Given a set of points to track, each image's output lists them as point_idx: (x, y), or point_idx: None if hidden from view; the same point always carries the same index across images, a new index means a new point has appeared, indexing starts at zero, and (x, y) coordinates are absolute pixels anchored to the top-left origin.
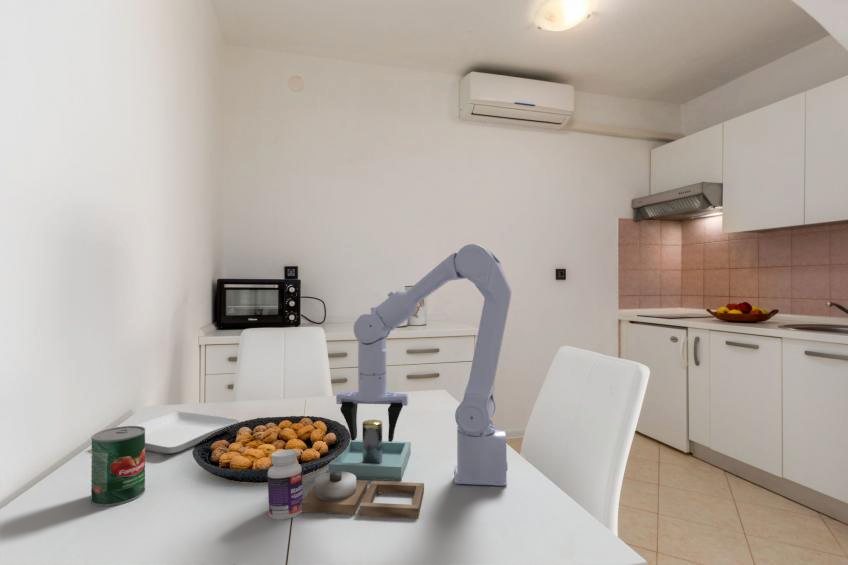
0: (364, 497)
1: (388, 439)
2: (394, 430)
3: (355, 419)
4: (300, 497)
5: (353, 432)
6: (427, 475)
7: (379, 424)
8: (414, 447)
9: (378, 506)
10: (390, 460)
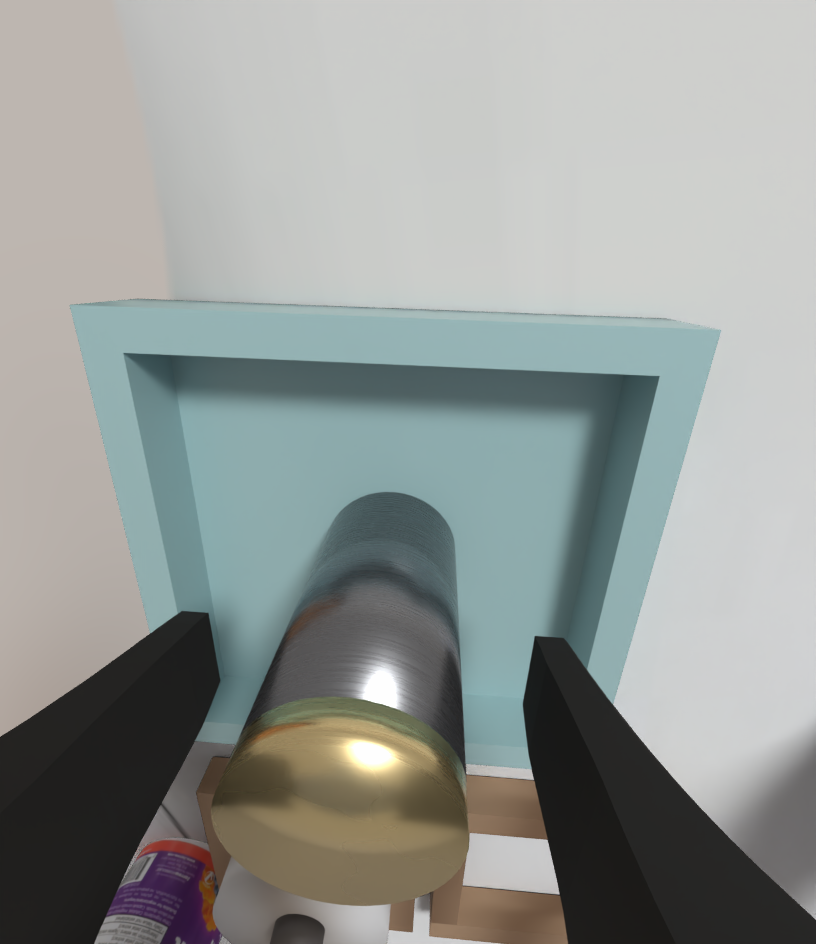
0: (435, 902)
1: (525, 725)
2: (602, 695)
3: (78, 795)
4: (218, 941)
5: (182, 763)
6: (722, 659)
7: (443, 884)
8: (728, 137)
9: (494, 941)
10: (508, 525)
